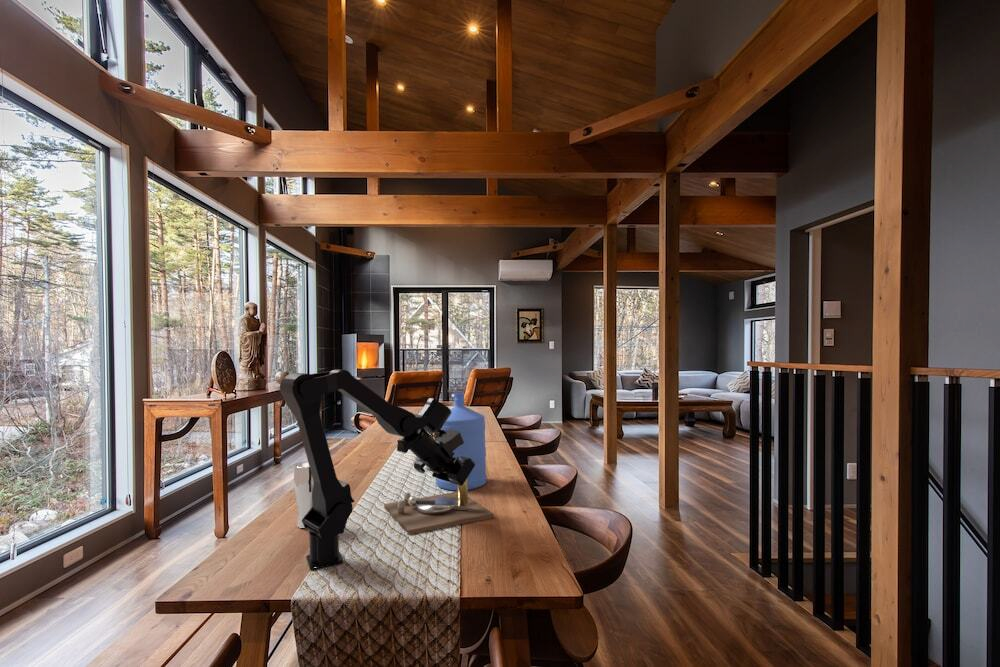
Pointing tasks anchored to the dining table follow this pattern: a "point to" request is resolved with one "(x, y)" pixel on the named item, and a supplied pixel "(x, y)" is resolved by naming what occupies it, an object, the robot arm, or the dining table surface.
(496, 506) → the dining table surface
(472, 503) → the walnut board
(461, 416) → the water jug
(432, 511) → the dial
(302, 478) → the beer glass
